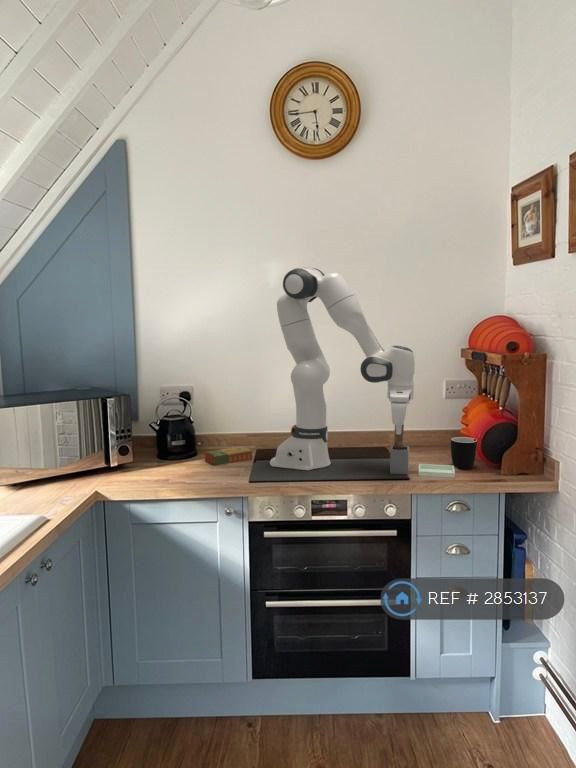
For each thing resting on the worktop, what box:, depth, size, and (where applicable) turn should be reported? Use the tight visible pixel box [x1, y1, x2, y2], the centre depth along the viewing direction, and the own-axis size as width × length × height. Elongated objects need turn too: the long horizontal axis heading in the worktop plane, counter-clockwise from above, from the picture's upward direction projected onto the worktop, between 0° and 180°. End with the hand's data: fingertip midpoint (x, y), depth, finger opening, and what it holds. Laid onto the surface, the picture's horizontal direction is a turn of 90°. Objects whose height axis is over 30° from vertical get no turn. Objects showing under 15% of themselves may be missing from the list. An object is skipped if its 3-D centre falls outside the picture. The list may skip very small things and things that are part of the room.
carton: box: [204, 445, 253, 466], centre depth 229 cm, size 8×16×4 cm, turn 124°
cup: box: [389, 445, 410, 475], centre depth 209 cm, size 6×6×9 cm
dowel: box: [393, 423, 405, 450], centre depth 208 cm, size 3×3×14 cm
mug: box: [450, 436, 478, 470], centre depth 218 cm, size 12×9×10 cm
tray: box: [417, 463, 456, 479], centre depth 208 cm, size 12×10×2 cm
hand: (398, 432), depth 208 cm, fingers closed on dowel, 3 cm apart
